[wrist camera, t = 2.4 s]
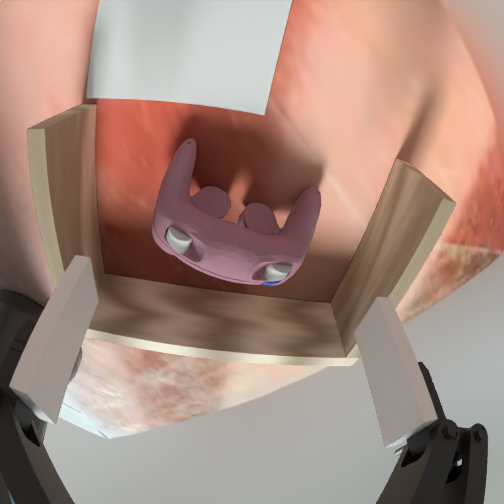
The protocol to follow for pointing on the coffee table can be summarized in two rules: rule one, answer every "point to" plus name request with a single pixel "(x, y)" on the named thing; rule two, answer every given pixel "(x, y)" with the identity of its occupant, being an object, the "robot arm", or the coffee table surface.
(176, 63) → the pad
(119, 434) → the coffee table surface
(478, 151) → the coffee table surface
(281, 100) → the coffee table surface
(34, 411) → the robot arm
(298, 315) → the bay
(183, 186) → the video game controller
